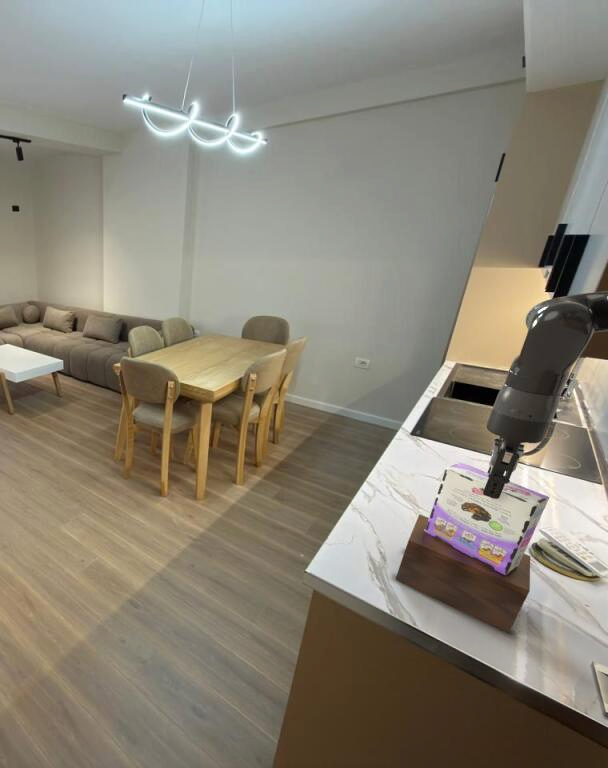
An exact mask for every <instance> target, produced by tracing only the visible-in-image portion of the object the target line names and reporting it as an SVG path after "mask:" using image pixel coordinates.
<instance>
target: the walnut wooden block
mask: <svg viewBox="0 0 608 768" xmlns="http://www.w3.org/2000/svg"><path fill="white" fill-rule="evenodd" d="M428 520H429V517H428V516H425V515H423V514H420V513H419V514H418V516H417V519H416V521H415V524H414V526H413V528H412V530H411V534H410V536H409V538H408V540H407V544H406V546H405V549H404V552H403V556H402V558H401V562H400V564H399V567H398V570H397V573H396V577H395V580H396V581H397V582H400V583H401V584H404V585H406V586H407V587H410V588H412V589H414V590H416V591H418V592H420V593H422V594H425V595H427V596H428V597H430V598H433V599H434V600H437V601H439V602H440V603H442V604H445V605H447V606H449V607H451V608H453V609H455V610H457V611H459V612H461V613H464V614H466V615H468V616H470V617H472V618H474V619H476V620H478V621H480V622H482V623H484V624H486V625H488V626H490V627H492V628H494V629H496V630H498V631H500V632H503V633H505V634H507V635H509V633H510V631H511V630H512V627H513V625H514V624H515V621H516V619H517V617H518V615H519V614H520V611H521V609H522V608H523V606H524V604H525V601H526V600H527V597H528V596H529V593H530V592H531V591H530V590H531V555H528V554H526V553H524V555H523V557H522V559H521V562H520V563H519V565H518V567H517V568H515V569H514V570H512V571H511V572H509V573H508V574H506V575H504V574H502V573H500V572H498V571H496V570H494V569H492V568H491V567H489V566H487V565H485V564H483V563H481V562H479V561H478V560H476V559H474V558H472V557H470V556H469V555H467V554H465V553H463V552H461V551H459V550H458V549H456V548H454V547H452V546H450V545H448V544H446V543H445V542H443V541H441V540H439V539H437V538H435V537H434V536H432V535H430V534H428V533H426V532H425V531H424V530H425V528H426V526H427V523H428Z"/></svg>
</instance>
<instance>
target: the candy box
mask: <svg viewBox="0 0 608 768" xmlns="http://www.w3.org/2000/svg"><path fill="white" fill-rule="evenodd" d="M487 481H488V473H487V472H486V471H483V470H481V469H479V468H476V467H473V466H471V465H468V464H466V463H463V462H461V461H459V462H458V463H455V464H453V465H451V466H448V467H445V469H444V473H443V475H442V478H441V481H440V482H441V483H440V484H439V488H438V490H437V494H436V496H435V499H434V502H433V505H432V509H431V511H430V515H429V517H428V518H429V520H428V523H427V526H426V528H425V530H424V531H425V532H426V533H428V534H430V535H432V536H434V537H435V538H437V539H439V540H441V541H443V542H445V543H446V544H448V545H450V546H452V547H454V548H456V549H458V550H459V551H461V552H463V553H465V554H467V555H469V556H470V557H472V558H474V559H476V560H478V561H479V562H481V563H483V564H485V565H487V566H489V567H491V568H492V569H494V570H496V571H498V572H500V573H502V574H504V575H506V574H508V573H509V572H511V571H512V570H514V569H515V568H517V567H518V565H519V563H520V562H521V559H522V557H523V555H524V554H525V553H526V551H527V548H528V547H529V544H530V541H531V540H532V537H533V535H534V533H535V530H536V528H537V527H538V524H539V522H540V520H541V517H542V515H543V513H544V511H545V509H546V506H547V504H548V502H549V500H550V496H549V495H547V494H543V493H540V492H537V491H536V490H533V489H530V488H527V487H525V486H523V485H519V484H517V483H515V482H512V481H510V482H509V483H508V484H505V485H504V487H503V490H502V492H501V495H500V497H499V498H498V499H494V498H491V497H488V496H485V495H484V494H483V491H484V488H485V486H486V483H487Z"/></svg>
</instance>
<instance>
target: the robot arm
mask: <svg viewBox="0 0 608 768" xmlns="http://www.w3.org/2000/svg"><path fill="white" fill-rule="evenodd" d="M525 326H526V328H527V332H526V335H525V339H524V342H523V344H522V347H521V349H520V353H519V354H518V355H517V356H516V357H514V359H513V361H512V362H511V365H510V366H509V369H508V372H507V374H506V378H505V380H504V382H503V385H502V387H501V389H500V390H499V392H498V394H497V396H496V399H495V401H494V403H493V406H492V409H491V411H490V414H489V418H488V420H487V423H486V426H485V427H486V430H487V431H489V432H490V433H491V434H493V435H495V436H498V437H499V438H497V437H494V440H493V444H492V448H491V456H490V459H489V462H488V465H489V467H488V469H487V472H486V473H488V481H487V483H486V486H485V488H484V491H483V494H484V495H485V496H488V497H491V498H494V499H498V498H499V497H500V495H501V492H502V490H503V487H504V485H505V484H508V483H509V482H511V481H510V479H511V476H512V474H513V473H514V472H515V471H516V470H517V467H518V464H519V461H520V459H521V458H522V457H523V455H524V452H525V444H539V443H542V442H544V440H545V438H546V436H547V433H548V432H549V429H550V426H551V424H552V421H553V419H554V417H555V415H556V413H557V411H558V408H559V405H560V400H561V396H562V393H563V392H564V390H565V387H566V385H567V382H568V380H569V377H570V374H571V370H572V368H573V367H574V365H575V363H576V362H577V361H578V359H579V358H580V356H581V355H582V354H583V352H584V351H585V350H586V347H587V346H588V345H589V342H591V341H590V340H591V339H592V337H593V335H594V334H595V333H601V332H608V290H603V291H602V290H601V291H593V292H585V293H578V294H572V295H570V294H569V295H565V296H559V297H554V298H550V299H547V300H544V301H542V302H539V303H537V304H536V305H534V306H533V307H532V308H531V309H530V310H529V311H528V312H527V314H526V316H525Z"/></svg>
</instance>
